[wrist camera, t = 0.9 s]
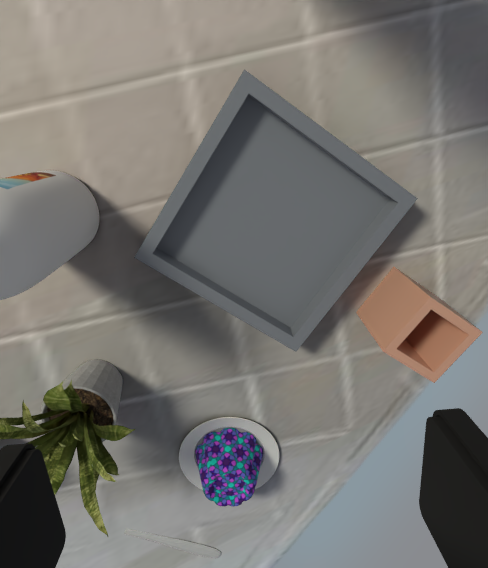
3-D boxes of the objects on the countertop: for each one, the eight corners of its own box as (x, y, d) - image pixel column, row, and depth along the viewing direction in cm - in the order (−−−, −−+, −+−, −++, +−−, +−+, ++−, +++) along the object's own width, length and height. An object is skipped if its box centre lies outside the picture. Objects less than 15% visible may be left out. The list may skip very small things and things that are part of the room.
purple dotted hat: (237, 395, 45) (238, 426, 40) (298, 458, 49) (305, 494, 44) (158, 447, 48) (150, 484, 43) (221, 505, 51) (220, 544, 46)
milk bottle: (102, 176, 36) (-36, 222, 17) (101, 256, 39) (-21, 372, 20) (14, 163, 36) (-226, 196, 17) (19, 246, 38) (-185, 354, 20)
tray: (243, 74, 34) (244, 69, 31) (403, 193, 37) (417, 198, 35) (141, 248, 39) (134, 257, 36) (291, 337, 43) (296, 351, 40)
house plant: (10, 314, 41) (-122, 423, 25) (146, 306, 41) (95, 410, 26) (42, 427, 46) (-53, 574, 30) (163, 420, 46) (129, 563, 31)
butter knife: (214, 565, 54) (222, 552, 53) (15, 512, 50) (19, 496, 49) (215, 561, 55) (223, 548, 54) (17, 508, 51) (21, 492, 50)
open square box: (393, 266, 40) (430, 296, 33) (437, 296, 41) (482, 332, 34) (356, 312, 42) (383, 351, 34) (399, 339, 43) (434, 382, 36)
